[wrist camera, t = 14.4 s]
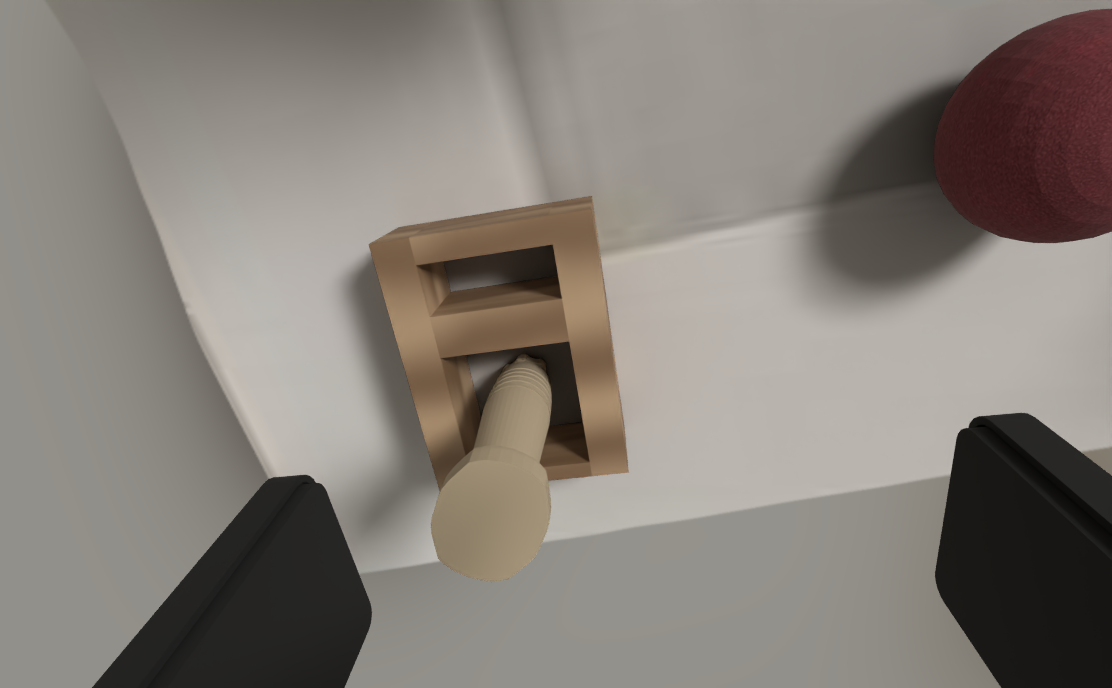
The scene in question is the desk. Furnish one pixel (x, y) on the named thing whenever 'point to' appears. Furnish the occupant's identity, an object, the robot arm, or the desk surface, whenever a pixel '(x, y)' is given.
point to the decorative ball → (1034, 134)
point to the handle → (499, 481)
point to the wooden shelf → (504, 328)
